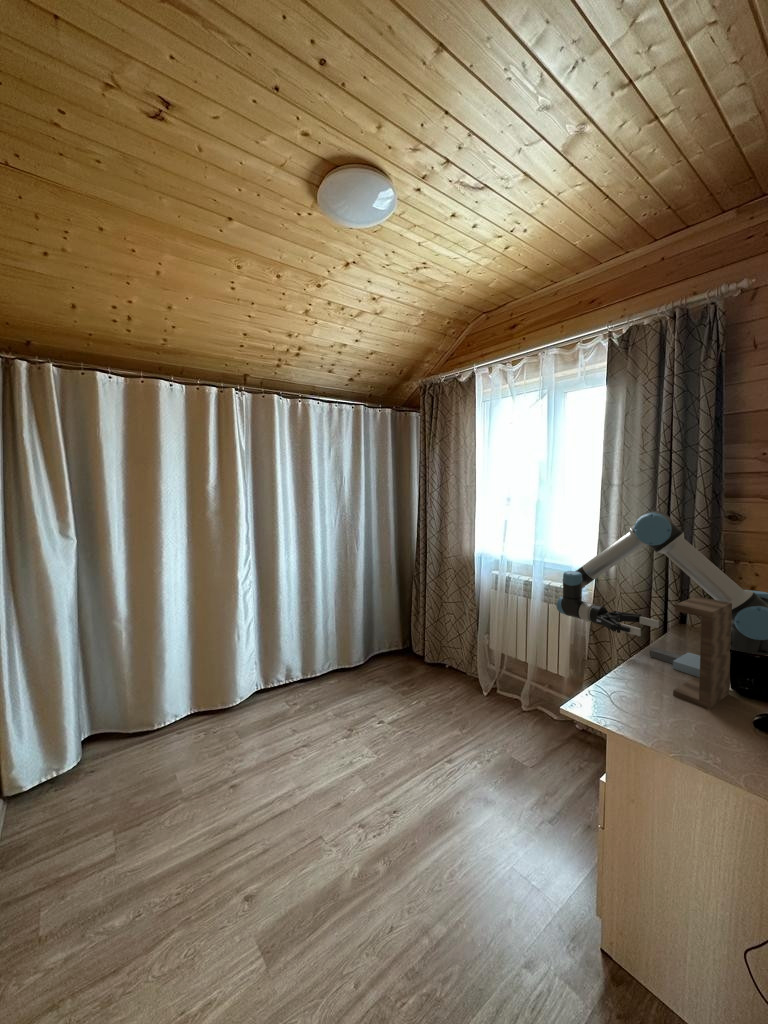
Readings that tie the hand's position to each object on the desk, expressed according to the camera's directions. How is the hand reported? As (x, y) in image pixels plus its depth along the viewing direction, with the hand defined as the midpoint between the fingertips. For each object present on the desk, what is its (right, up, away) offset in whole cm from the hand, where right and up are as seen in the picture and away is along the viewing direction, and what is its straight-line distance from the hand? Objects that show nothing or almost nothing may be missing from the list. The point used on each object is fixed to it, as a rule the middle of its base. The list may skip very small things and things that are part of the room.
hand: (649, 628), depth 148 cm
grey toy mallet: (+5, -11, -7) cm, 14 cm away
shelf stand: (-3, -12, -28) cm, 30 cm away
